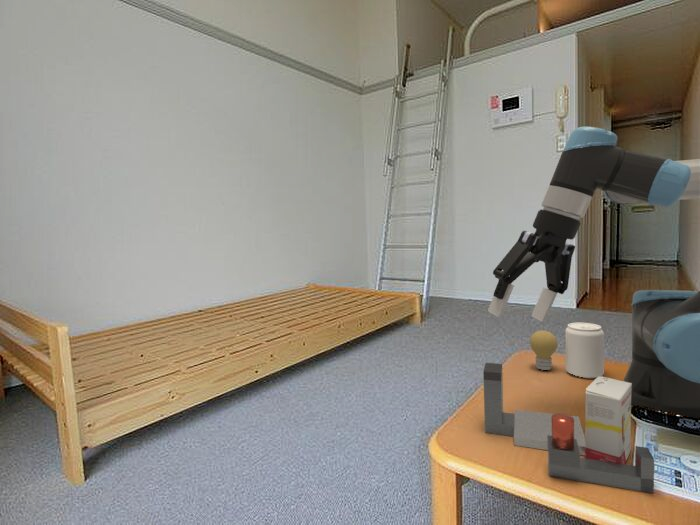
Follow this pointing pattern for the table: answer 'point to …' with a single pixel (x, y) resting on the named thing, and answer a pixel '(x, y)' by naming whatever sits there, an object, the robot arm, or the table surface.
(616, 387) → the ink box
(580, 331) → the beverage can
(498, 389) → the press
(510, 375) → the table surface
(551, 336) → the light bulb
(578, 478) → the rail
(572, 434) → the red cylinder
